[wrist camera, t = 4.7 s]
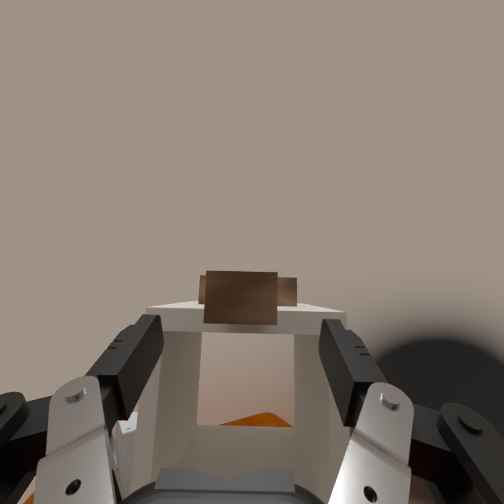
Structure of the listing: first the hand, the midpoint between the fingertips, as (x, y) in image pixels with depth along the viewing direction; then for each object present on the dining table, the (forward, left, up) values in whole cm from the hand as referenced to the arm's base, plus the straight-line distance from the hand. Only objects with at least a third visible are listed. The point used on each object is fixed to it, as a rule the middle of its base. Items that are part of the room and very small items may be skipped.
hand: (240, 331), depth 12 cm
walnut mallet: (0, -13, 0) cm, 13 cm away
